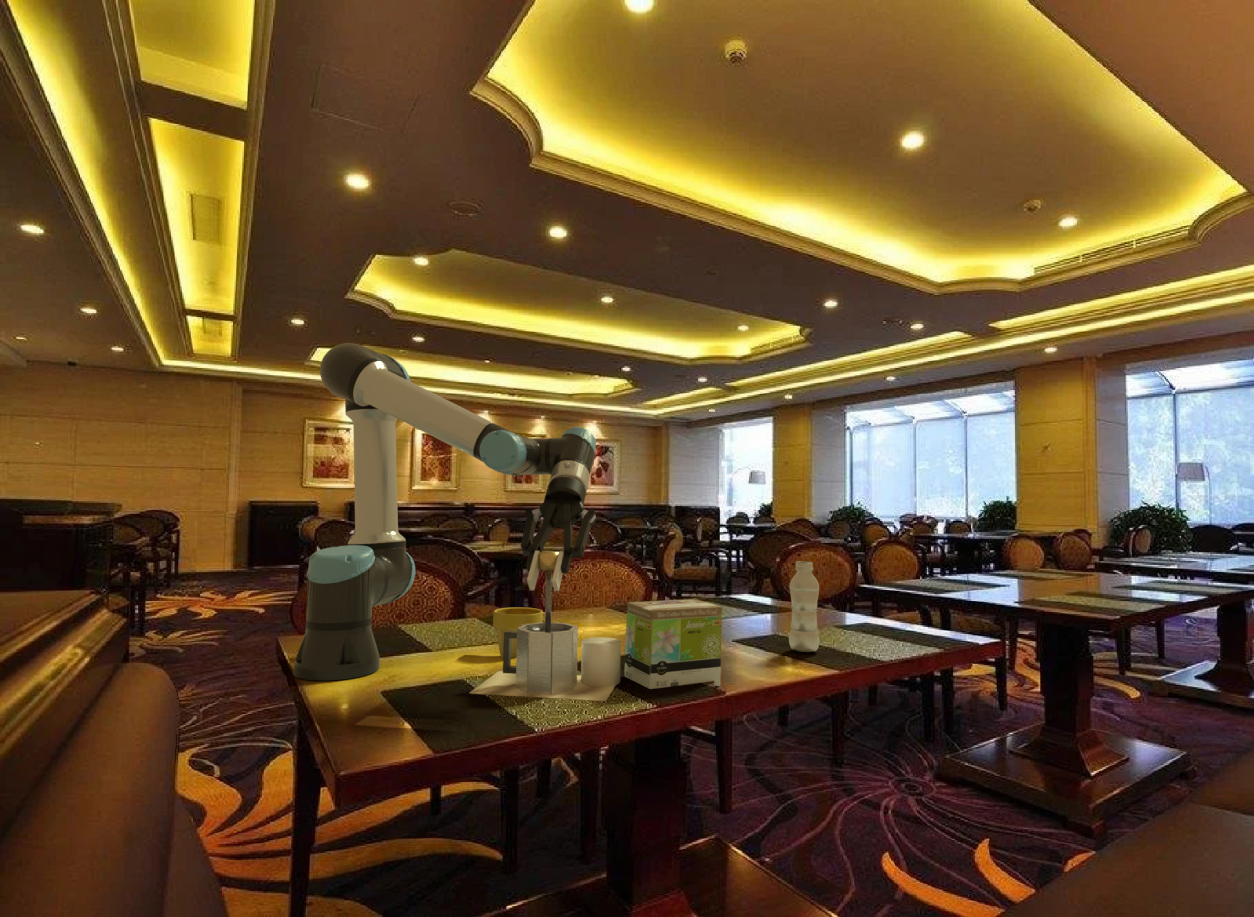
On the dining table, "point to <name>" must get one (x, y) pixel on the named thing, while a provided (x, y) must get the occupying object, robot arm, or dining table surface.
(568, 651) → the silver faceted mug
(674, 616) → the tea box
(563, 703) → the dining table surface
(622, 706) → the dining table surface
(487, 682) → the serving board
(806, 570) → the plastic bottle
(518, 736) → the dining table surface
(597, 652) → the white cylindrical canister
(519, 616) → the plant pot
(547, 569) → the plunger
